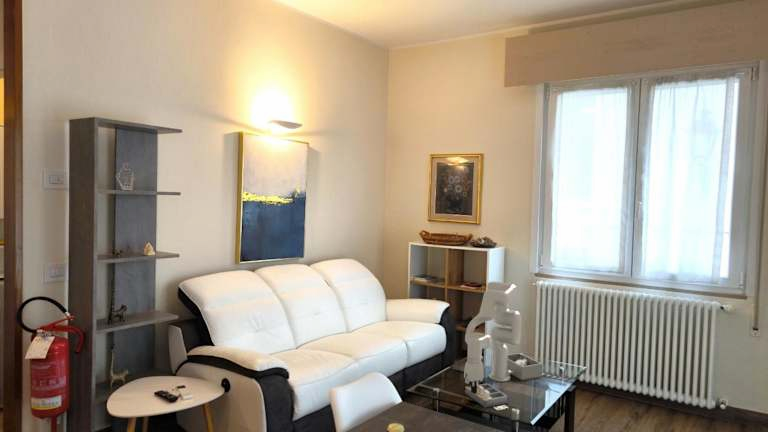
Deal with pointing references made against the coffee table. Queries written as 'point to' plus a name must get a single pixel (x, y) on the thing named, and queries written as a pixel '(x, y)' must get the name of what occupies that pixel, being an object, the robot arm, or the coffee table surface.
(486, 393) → the tab
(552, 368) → the coffee table surface
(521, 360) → the camera
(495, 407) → the label card
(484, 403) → the grey shallow tray
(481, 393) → the tab
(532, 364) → the grey open bin
